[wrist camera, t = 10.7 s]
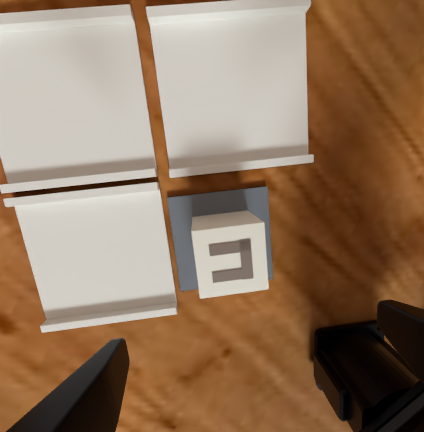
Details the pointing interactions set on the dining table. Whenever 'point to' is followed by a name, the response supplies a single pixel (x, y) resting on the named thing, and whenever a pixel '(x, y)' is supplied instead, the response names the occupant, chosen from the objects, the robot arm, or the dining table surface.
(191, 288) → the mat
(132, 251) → the tray
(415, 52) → the dining table surface
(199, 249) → the letter cube
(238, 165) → the tray
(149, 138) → the tray
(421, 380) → the robot arm
